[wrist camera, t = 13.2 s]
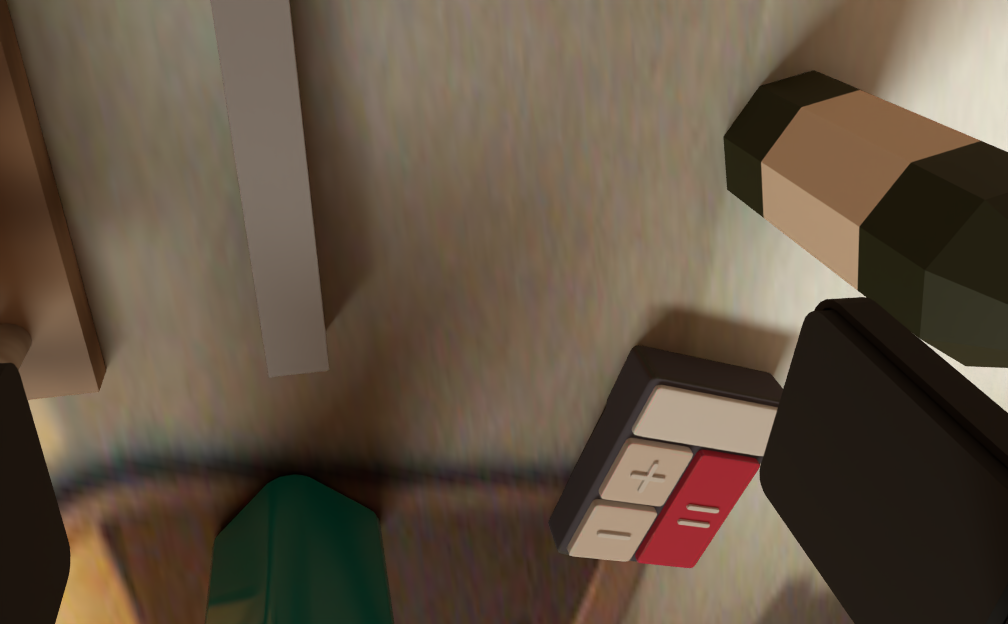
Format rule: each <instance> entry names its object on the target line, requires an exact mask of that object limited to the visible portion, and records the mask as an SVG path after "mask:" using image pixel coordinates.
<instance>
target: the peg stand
mask: <svg viewBox="0 0 1008 624" xmlns="http://www.w3.org/2000/svg"><path fill="white" fill-rule="evenodd" d="M0 363H13V364H15V366H16V367H17V368H18V371H19V373H20V376H21V379H22V383H23V386H24V390H25V393H26V397H27V400H30V399H39V398H48V397H57V396H66V395H75V394H84V393H93V392H99V390H100V387H101V384H102V382H103V379H104V376H105V373H106V368H105V364H104V360H103V357H102V353H101V349H100V345H99V342H98V338H97V334H96V331H95V327H94V323H93V320H92V316H91V312H90V309H89V305H88V301H87V297H86V294H85V290H84V286H83V283H82V279H81V275H80V272H79V268H78V264H77V260H76V257H75V253H74V249H73V246H72V242H71V238H70V235H69V231H68V227H67V223H66V220H65V216H64V212H63V209H62V205H61V201H60V198H59V194H58V190H57V186H56V183H55V179H54V175H53V172H52V168H51V164H50V161H49V157H48V153H47V150H46V146H45V142H44V138H43V135H42V131H41V127H40V124H39V120H38V116H37V113H36V109H35V105H34V101H33V98H32V94H31V90H30V87H29V83H28V79H27V76H26V72H25V68H24V64H23V61H22V57H21V53H20V50H19V46H18V42H17V39H16V35H15V31H14V27H13V24H12V20H11V16H10V13H9V9H8V5H7V2H6V0H0Z"/></svg>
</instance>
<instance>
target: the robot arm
mask: <svg viewBox="0 0 1008 624" xmlns="http://www.w3.org/2000/svg"><path fill="white" fill-rule="evenodd" d="M760 482H761V486H762V489H763V491H764V493H765V495H766V497H767V498H768V499H769V501H770V502H771V504H772V505H773V507H774V508H775V510H776V511H777V512H778V514H779V515H780V517H781V518H782V520H783V521H784V522H785V524H786V525H787V527H788V528H789V530H790V531H791V533H792V534H793V535H794V537H795V538H796V540H797V541H798V543H799V544H800V546H801V547H802V548H803V550H804V551H805V553H806V554H807V556H808V557H809V559H810V560H811V561H812V563H813V564H814V566H815V567H816V569H817V570H818V571H819V573H820V574H821V576H822V577H823V579H824V580H825V582H826V583H827V584H828V586H829V587H830V589H831V590H832V592H833V593H834V595H835V596H836V597H837V599H838V600H839V602H840V603H841V605H842V606H843V607H844V609H845V610H846V612H847V613H848V615H849V616H850V618H851V619H852V620H853V622H854V623H855V624H1008V413H1007V412H1006V411H1005V410H1003V409H1002V408H1001V407H1000V406H999V405H998V404H996V403H995V402H994V401H993V400H992V399H990V398H989V397H988V396H987V395H986V394H984V393H983V392H982V391H981V390H980V389H979V388H977V387H976V386H975V385H974V384H973V383H971V382H970V381H969V380H968V379H967V378H965V377H964V376H963V375H962V374H961V373H959V372H958V371H957V370H956V369H955V368H954V367H952V366H951V365H950V364H949V363H948V362H946V361H945V360H944V359H943V358H942V357H940V356H939V355H938V354H937V353H936V352H935V351H933V350H932V349H931V348H930V347H929V346H927V345H926V344H925V343H924V342H923V341H921V340H920V339H919V338H918V337H917V336H916V335H914V334H913V333H912V332H911V331H910V330H908V329H907V328H906V327H905V326H904V325H902V324H901V323H900V322H899V321H898V320H897V319H895V318H894V317H893V316H892V315H891V314H889V313H888V312H887V311H886V310H885V309H883V308H882V307H881V306H880V305H879V304H877V303H876V302H875V301H873V300H872V299H870V298H865V297H858V298H842V299H826V300H824V301H822V302H820V303H819V304H818V306H817V307H816V308H815V311H813V312H810V313H809V314H808V315H807V316H806V317H805V320H804V322H803V325H802V328H801V332H800V335H799V338H798V342H797V345H796V348H795V352H794V355H793V358H792V362H791V365H790V368H789V372H788V375H787V379H786V382H785V385H784V389H783V392H782V395H781V399H780V402H779V405H778V409H777V412H776V415H775V419H774V422H773V425H772V429H771V432H770V435H769V439H768V442H767V445H766V449H765V452H764V456H763V459H762V462H761V466H760ZM69 571H70V546H69V542H68V538H67V534H66V531H65V528H64V524H63V521H62V517H61V514H60V510H59V507H58V503H57V500H56V497H55V493H54V490H53V486H52V483H51V479H50V476H49V472H48V469H47V466H46V462H45V459H44V455H43V452H42V448H41V445H40V441H39V438H38V434H37V431H36V428H35V424H34V421H33V417H32V414H31V410H30V407H29V403H28V400H27V397H26V393H25V390H24V386H23V383H22V379H21V376H20V373H19V371H18V368H17V367H16V366H15V364H13V363H0V624H55V622H56V618H57V615H58V612H59V608H60V605H61V601H62V598H63V594H64V591H65V587H66V584H67V580H68V576H69Z"/></svg>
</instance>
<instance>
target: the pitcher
mask: <svg viewBox="0 0 1008 624" xmlns="http://www.w3.org/2000/svg"><path fill="white" fill-rule="evenodd" d="M205 624H394V618H393V611H392V604H391V597H390V590H389V583H388V576H387V569H386V562H385V555H384V548H383V541H382V534H381V527H380V520H379V519H378V517H377V516H376V515H375V513H374V512H373V511H372V510H371V509H369V508H367V507H365V506H363V505H361V504H360V503H358V502H356V501H354V500H352V499H350V498H348V497H346V496H345V495H343V494H341V493H339V492H337V491H335V490H333V489H331V488H330V487H328V486H326V485H324V484H322V483H320V482H318V481H317V480H315V479H313V478H311V477H309V476H305V475H298V474H292V475H285V476H280V477H278V478H276V479H274V480H272V481H270V482H268V483H267V484H266V485H265V486H264V487H263V488H262V489H261V490H260V491H259V492H258V494H257V495H256V496H255V497H254V498H253V499H252V500H251V501H250V502H249V503H248V504H247V505H246V506H245V507H244V508H243V509H242V510H241V511H240V512H239V513H238V514H237V515H236V517H235V518H234V519H233V520H232V521H231V522H230V523H229V524H228V525H227V526H226V527H225V528H224V529H223V530H222V531H221V532H220V533H219V534H218V535H217V537H216V538H215V541H214V544H213V547H212V556H211V566H210V576H209V586H208V596H207V606H206V616H205Z"/></svg>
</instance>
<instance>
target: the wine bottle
mask: <svg viewBox="0 0 1008 624" xmlns="http://www.w3.org/2000/svg"><path fill="white" fill-rule="evenodd" d="M724 149H725V164H726V178H727V190H729V191H730V192H731V193H732V194H734V195H735V196H736V197H738V198H739V199H740V200H741V201H743V202H744V203H745V204H747V205H748V206H749V207H750V208H752V209H753V210H754V211H756V212H757V213H758V214H760V215H761V216H762V217H763V218H765V219H766V220H767V221H769V222H770V223H771V224H772V225H774V226H775V227H776V228H778V229H779V230H780V231H782V232H783V233H784V234H785V235H787V236H788V237H789V238H791V239H792V240H793V241H794V242H796V243H797V244H798V245H800V246H801V247H802V248H804V249H805V250H806V251H807V252H809V253H810V254H811V255H813V256H814V257H815V258H816V259H818V260H819V261H820V262H822V263H823V264H824V265H825V266H827V267H828V268H829V269H831V270H832V271H833V272H835V273H836V274H837V275H838V276H840V277H841V278H842V279H844V280H845V281H846V282H847V283H849V284H850V285H851V286H853V287H854V288H855V289H857V290H858V291H859V292H860V293H862V294H863V295H864V296H866V297H867V298H870V299H872V300H873V301H875V302H876V303H877V304H879V305H880V306H881V307H882V308H883V309H885V310H886V311H887V312H888V313H889V314H891V315H892V316H893V317H894V318H895V319H897V320H898V321H899V322H900V323H901V324H902V325H904V326H905V327H906V328H907V329H908V330H910V331H911V332H912V333H913V334H915V335H916V336H917V337H919V338H920V339H922V340H923V341H925V342H927V343H928V344H930V345H931V346H933V347H935V348H936V349H938V350H940V351H941V352H943V353H945V354H946V355H948V356H950V357H951V358H953V359H955V360H956V361H958V362H960V363H961V364H963V365H965V366H976V367H1000V368H1008V152H1006V151H1004V150H1001V149H999V148H997V147H994V146H992V145H989V144H987V143H985V142H982V141H980V140H978V139H975V138H973V137H971V136H968V135H966V134H963V133H961V132H959V131H956V130H954V129H952V128H949V127H947V126H945V125H942V124H940V123H937V122H935V121H933V120H930V119H928V118H926V117H923V116H921V115H918V114H916V113H914V112H911V111H909V110H907V109H904V108H902V107H900V106H897V105H895V104H892V103H890V102H888V101H885V100H883V99H881V98H878V97H876V96H873V95H871V94H869V93H866V92H864V91H862V90H859V89H857V88H855V87H852V86H850V85H847V84H845V83H843V82H840V81H838V80H836V79H833V78H831V77H829V76H826V75H824V74H821V73H819V72H817V71H810V72H807V73H804V74H800V75H797V76H793V77H790V78H787V79H783V80H780V81H776V82H773V83H770V84H766V85H763V86H760V87H759V88H758V90H757V91H756V92H755V94H754V95H753V97H752V98H751V99H750V101H749V102H748V104H747V105H746V106H745V108H744V109H743V111H742V112H741V113H740V115H739V116H738V118H737V119H736V121H735V122H734V123H733V125H732V126H731V128H730V129H729V130H728V132H727V133H726V135H725V136H724Z"/></svg>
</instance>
